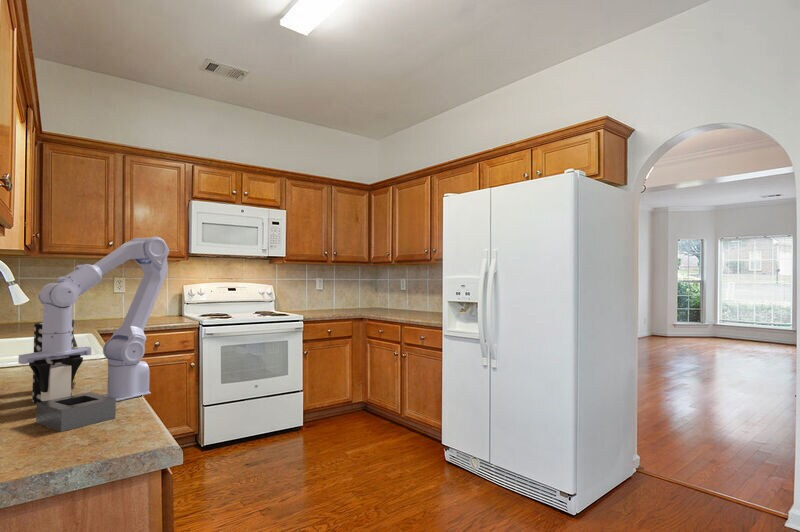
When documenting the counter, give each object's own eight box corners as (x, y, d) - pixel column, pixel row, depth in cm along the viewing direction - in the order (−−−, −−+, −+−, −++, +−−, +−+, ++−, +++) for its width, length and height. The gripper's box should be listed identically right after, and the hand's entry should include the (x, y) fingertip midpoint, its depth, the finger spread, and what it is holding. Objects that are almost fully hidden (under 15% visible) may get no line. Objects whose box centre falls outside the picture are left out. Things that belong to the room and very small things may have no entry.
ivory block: (61, 396, 114) (62, 363, 114) (70, 398, 112) (71, 365, 112) (40, 400, 110) (41, 366, 110) (49, 403, 108) (50, 368, 108)
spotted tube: (66, 393, 127) (68, 320, 128) (76, 398, 122) (78, 322, 123) (28, 399, 121) (30, 322, 122) (37, 405, 116) (39, 325, 116)
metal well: (89, 410, 112) (90, 392, 112) (115, 418, 106) (115, 398, 106) (36, 423, 102) (36, 402, 102) (61, 431, 97) (61, 410, 97)
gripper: (81, 328, 120) (80, 381, 119) (12, 334, 107) (11, 393, 107) (96, 330, 116) (95, 384, 116) (27, 337, 103) (25, 397, 103)
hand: (56, 389), depth 111 cm, fingers closed on ivory block, 4 cm apart
